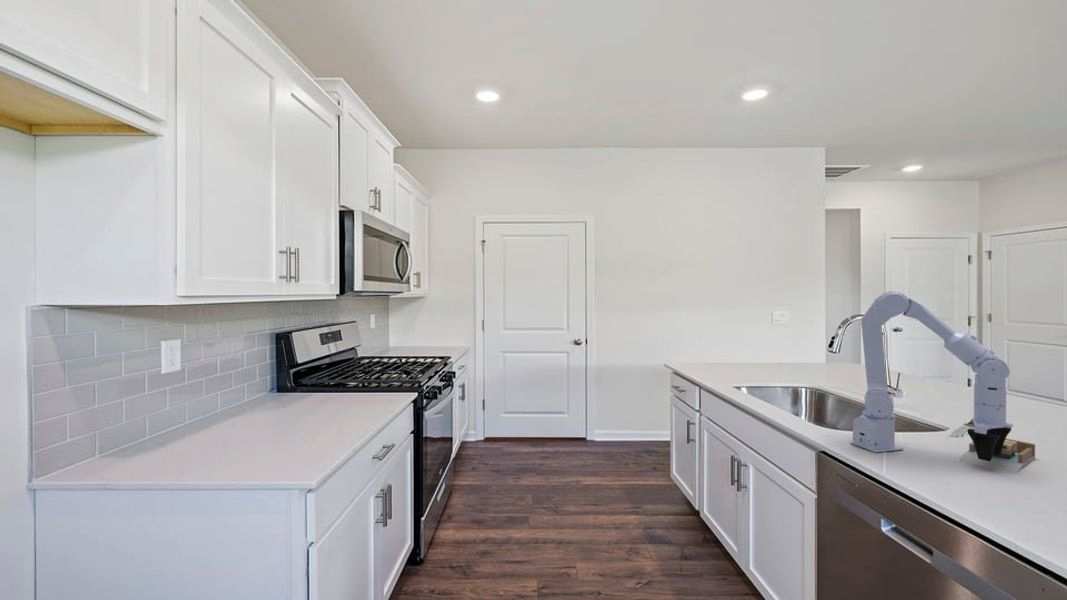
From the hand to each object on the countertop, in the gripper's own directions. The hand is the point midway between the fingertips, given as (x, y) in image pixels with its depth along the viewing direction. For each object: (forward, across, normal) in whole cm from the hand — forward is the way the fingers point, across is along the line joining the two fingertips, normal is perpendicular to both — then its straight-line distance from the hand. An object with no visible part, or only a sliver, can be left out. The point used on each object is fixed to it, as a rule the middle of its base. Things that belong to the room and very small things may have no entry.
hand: (989, 456), depth 113 cm
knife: (+2, +31, +12) cm, 33 cm away
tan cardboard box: (+1, +8, 0) cm, 8 cm away
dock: (+3, +6, 0) cm, 6 cm away
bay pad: (+2, +8, 0) cm, 8 cm away
